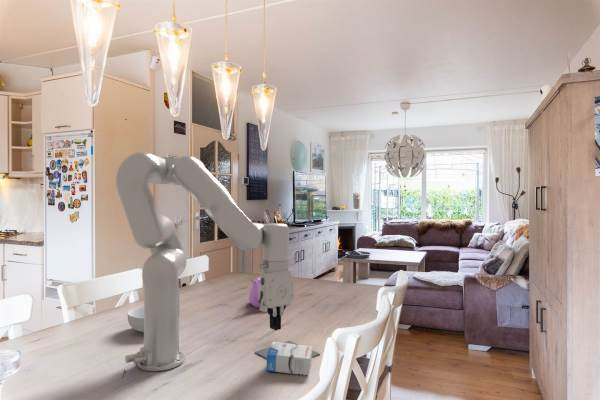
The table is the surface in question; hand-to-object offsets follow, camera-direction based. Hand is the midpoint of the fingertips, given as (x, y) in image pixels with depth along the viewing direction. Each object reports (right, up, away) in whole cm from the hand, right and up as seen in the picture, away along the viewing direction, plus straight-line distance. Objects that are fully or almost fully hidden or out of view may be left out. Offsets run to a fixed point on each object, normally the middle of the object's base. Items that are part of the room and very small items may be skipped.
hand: (275, 328), depth 113 cm
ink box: (-2, -6, -4) cm, 8 cm away
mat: (+3, -9, +5) cm, 11 cm away
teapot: (-7, -9, +59) cm, 60 cm away
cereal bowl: (-45, -9, +24) cm, 52 cm away
